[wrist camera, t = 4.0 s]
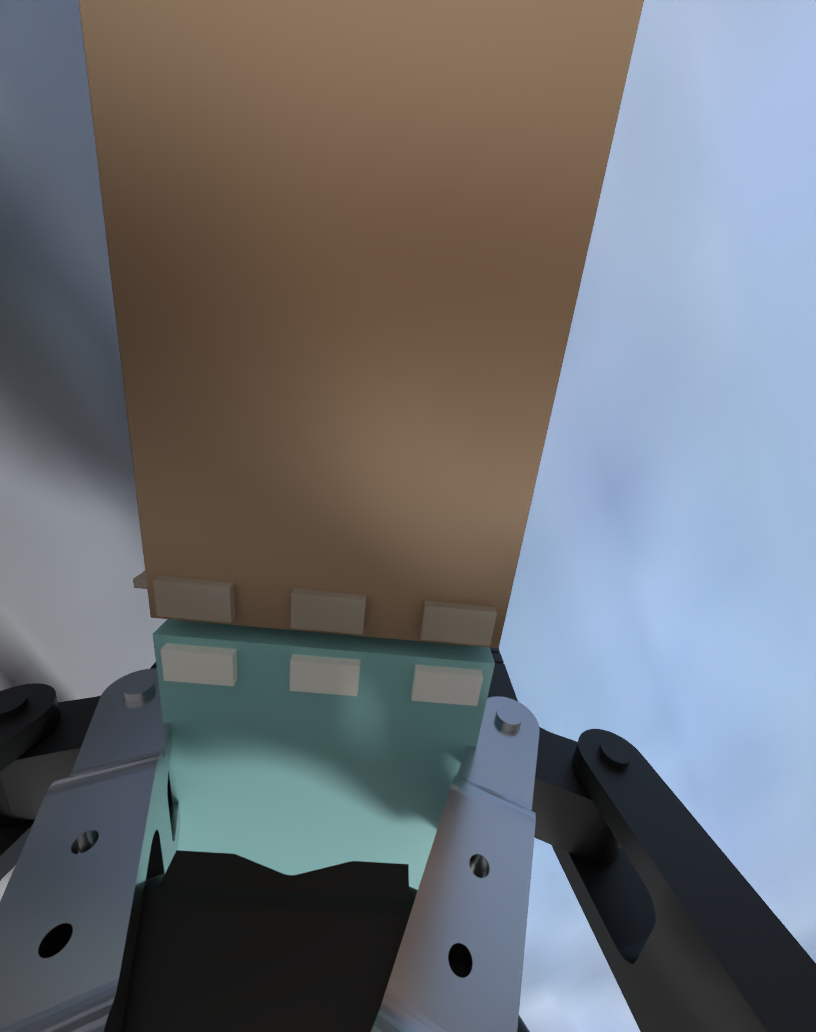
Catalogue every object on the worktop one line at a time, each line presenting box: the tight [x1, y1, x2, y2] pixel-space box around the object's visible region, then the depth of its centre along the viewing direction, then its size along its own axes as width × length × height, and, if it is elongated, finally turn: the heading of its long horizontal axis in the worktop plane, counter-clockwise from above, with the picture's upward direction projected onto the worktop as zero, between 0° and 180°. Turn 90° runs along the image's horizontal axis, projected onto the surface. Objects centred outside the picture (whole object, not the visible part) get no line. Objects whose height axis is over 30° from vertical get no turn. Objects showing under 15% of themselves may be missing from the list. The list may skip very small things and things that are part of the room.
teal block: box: [153, 619, 495, 890], centre depth 10 cm, size 6×6×6 cm
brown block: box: [79, 0, 644, 648], centre depth 7 cm, size 10×6×6 cm, turn 174°
